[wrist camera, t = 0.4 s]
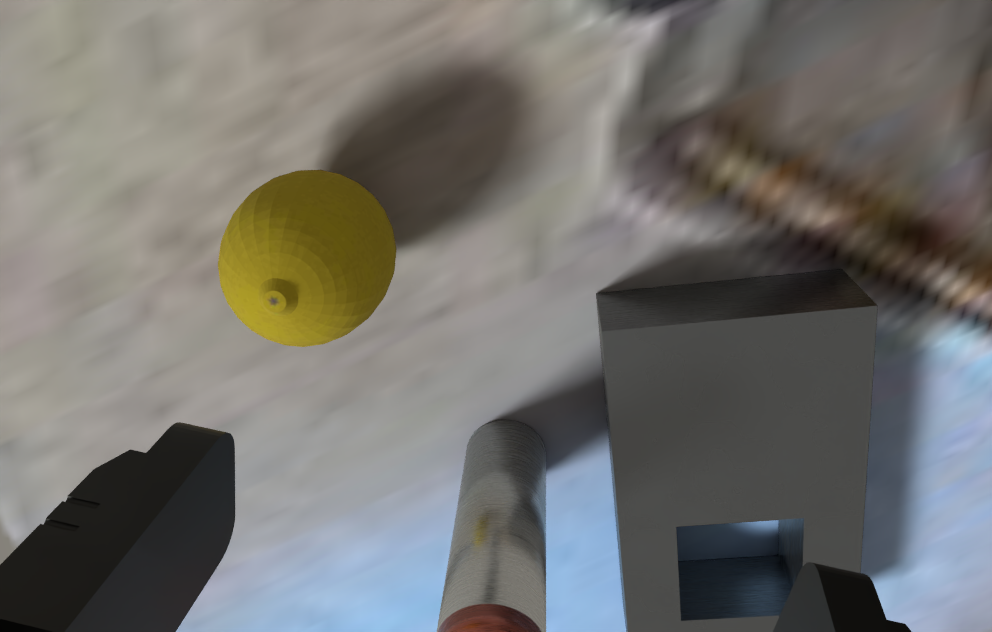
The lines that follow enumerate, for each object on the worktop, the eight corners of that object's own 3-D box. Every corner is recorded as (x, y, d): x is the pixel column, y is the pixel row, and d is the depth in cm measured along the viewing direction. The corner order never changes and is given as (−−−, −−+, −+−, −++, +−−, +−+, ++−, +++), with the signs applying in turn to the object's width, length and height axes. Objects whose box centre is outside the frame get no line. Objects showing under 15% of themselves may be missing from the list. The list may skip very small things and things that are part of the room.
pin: (461, 423, 33) (419, 646, 23) (541, 416, 33) (538, 639, 22) (472, 489, 35) (438, 730, 24) (549, 484, 34) (551, 725, 24)
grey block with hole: (596, 293, 31) (602, 331, 28) (842, 269, 30) (877, 305, 27) (623, 609, 37) (631, 670, 34) (827, 597, 36) (854, 659, 33)
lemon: (418, 160, 29) (375, 225, 22) (404, 298, 31) (361, 399, 24) (269, 137, 29) (176, 195, 22) (265, 277, 31) (180, 372, 24)
